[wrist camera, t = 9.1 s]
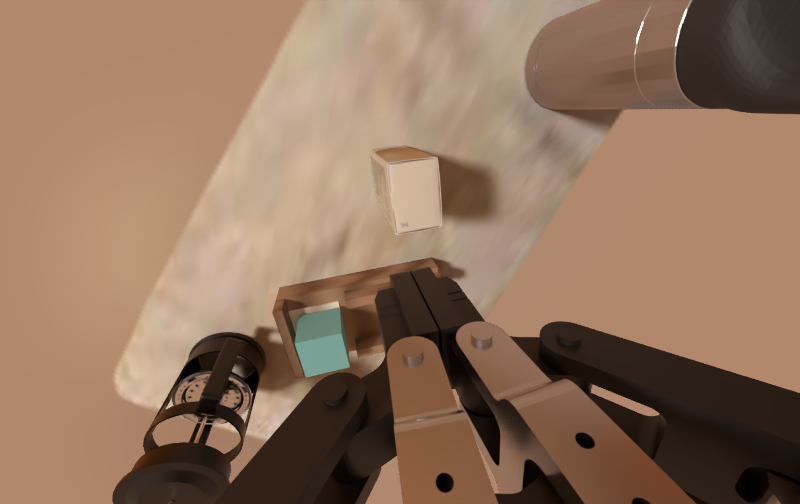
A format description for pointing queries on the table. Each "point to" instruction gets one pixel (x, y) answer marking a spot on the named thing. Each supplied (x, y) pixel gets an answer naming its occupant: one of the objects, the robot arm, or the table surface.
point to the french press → (197, 428)
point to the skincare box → (407, 188)
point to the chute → (350, 297)
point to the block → (322, 342)
